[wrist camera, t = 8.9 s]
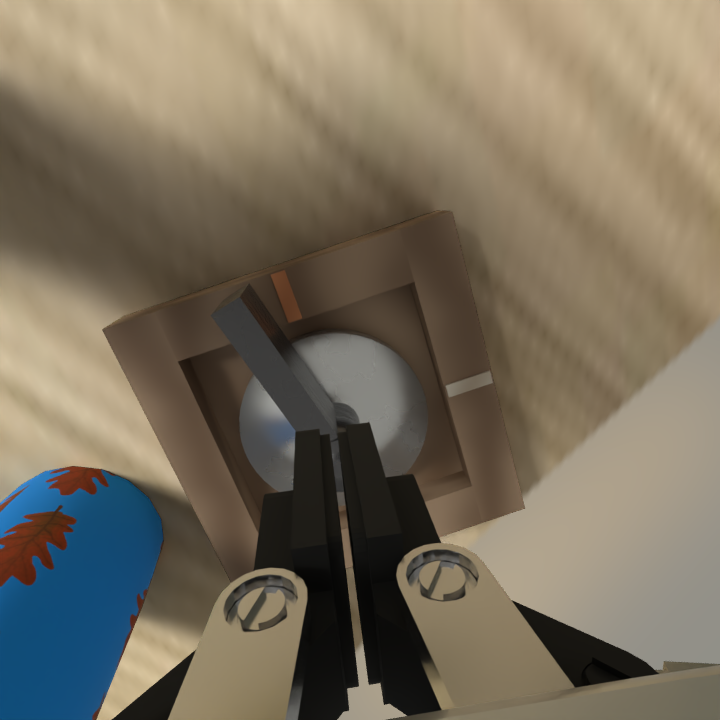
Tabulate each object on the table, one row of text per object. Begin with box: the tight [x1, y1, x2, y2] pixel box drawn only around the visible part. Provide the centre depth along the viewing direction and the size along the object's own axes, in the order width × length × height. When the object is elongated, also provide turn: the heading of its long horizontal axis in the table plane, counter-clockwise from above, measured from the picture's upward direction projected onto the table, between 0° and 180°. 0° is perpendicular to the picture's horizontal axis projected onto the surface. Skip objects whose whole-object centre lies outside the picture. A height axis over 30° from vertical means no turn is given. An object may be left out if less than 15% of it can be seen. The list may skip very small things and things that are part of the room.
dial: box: [211, 283, 428, 506], centre depth 28 cm, size 16×12×6 cm
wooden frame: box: [102, 211, 525, 583], centre depth 32 cm, size 20×20×3 cm
